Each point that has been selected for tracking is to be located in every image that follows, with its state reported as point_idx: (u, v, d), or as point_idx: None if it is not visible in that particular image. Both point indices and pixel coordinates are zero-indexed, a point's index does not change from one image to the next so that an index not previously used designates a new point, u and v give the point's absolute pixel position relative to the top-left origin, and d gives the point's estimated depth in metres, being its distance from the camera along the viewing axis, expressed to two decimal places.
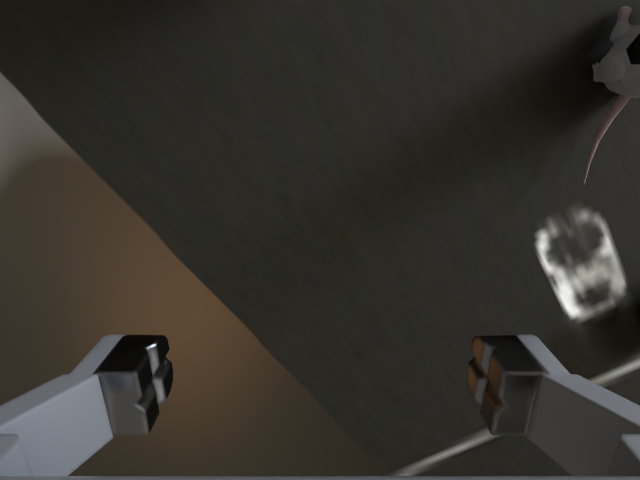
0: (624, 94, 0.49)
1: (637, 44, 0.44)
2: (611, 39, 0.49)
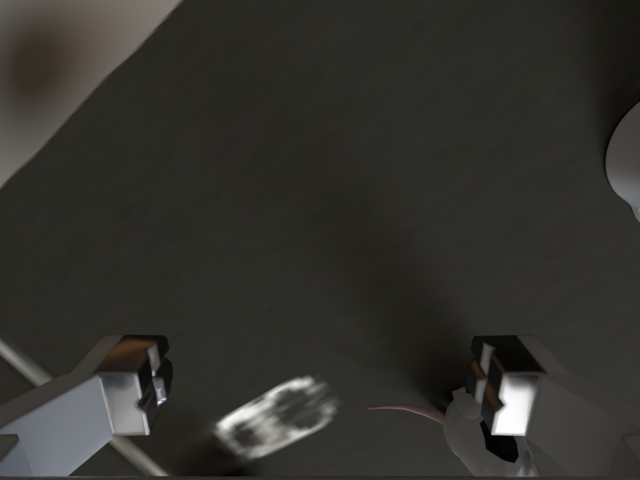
0: (447, 419, 0.57)
1: None
2: None
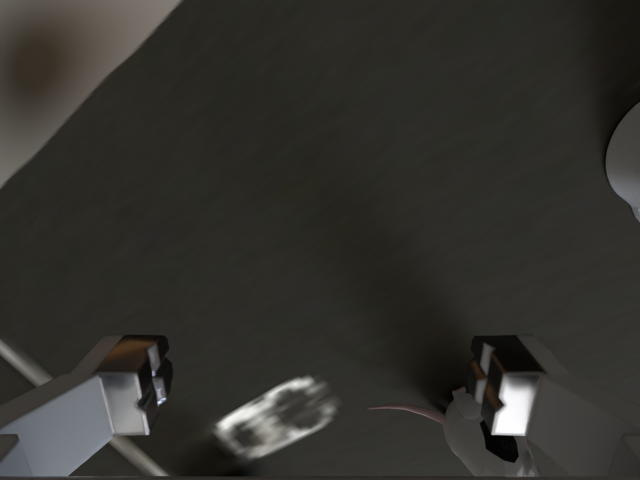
0: (447, 419, 0.57)
1: None
2: None
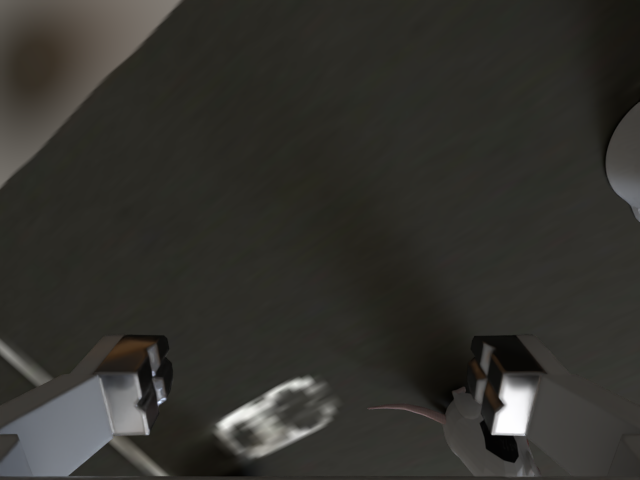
0: (447, 419, 0.57)
1: None
2: None
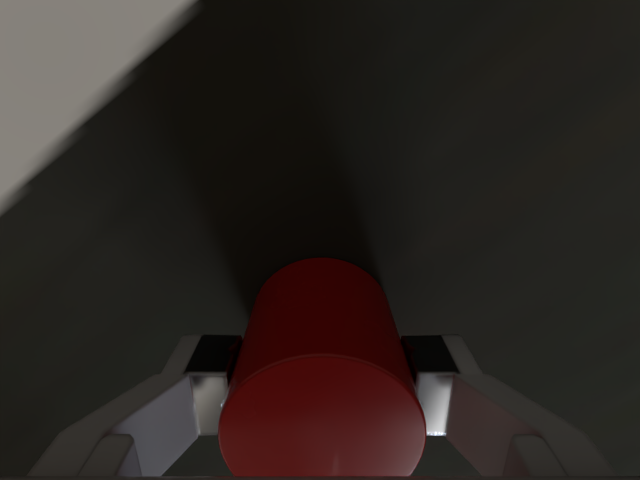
0: None
1: None
2: None
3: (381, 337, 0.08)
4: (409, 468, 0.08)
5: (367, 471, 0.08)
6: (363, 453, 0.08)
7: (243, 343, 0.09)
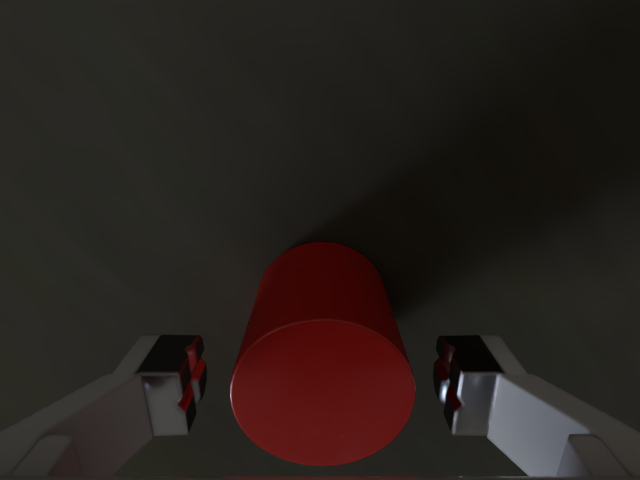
0: None
1: None
2: None
3: (375, 309, 0.09)
4: (400, 424, 0.09)
5: (362, 427, 0.09)
6: (359, 410, 0.09)
7: (251, 316, 0.10)
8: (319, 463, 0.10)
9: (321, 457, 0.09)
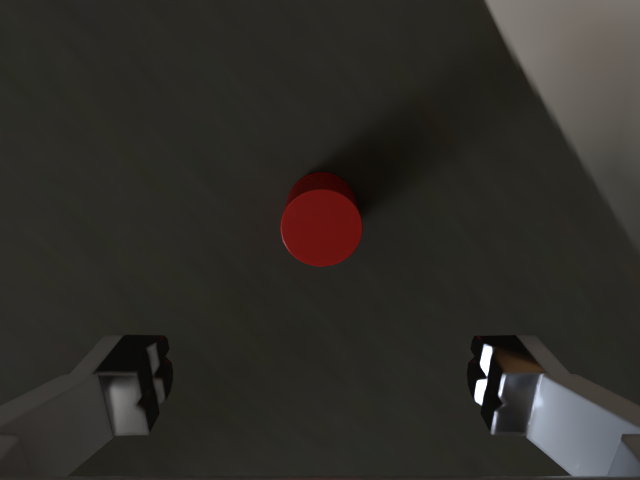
0: None
1: None
2: None
3: (345, 192, 0.20)
4: (356, 243, 0.20)
5: (339, 244, 0.20)
6: (338, 235, 0.20)
7: (287, 200, 0.21)
8: None
9: (321, 260, 0.21)
